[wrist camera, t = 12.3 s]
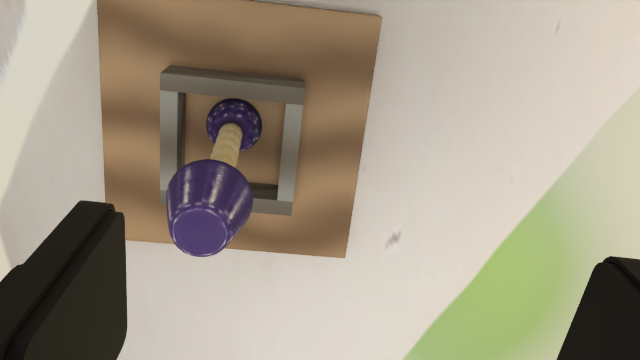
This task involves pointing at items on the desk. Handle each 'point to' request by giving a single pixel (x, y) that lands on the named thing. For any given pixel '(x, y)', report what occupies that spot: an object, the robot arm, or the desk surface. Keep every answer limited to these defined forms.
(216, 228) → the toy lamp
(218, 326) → the desk surface
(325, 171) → the socket board
